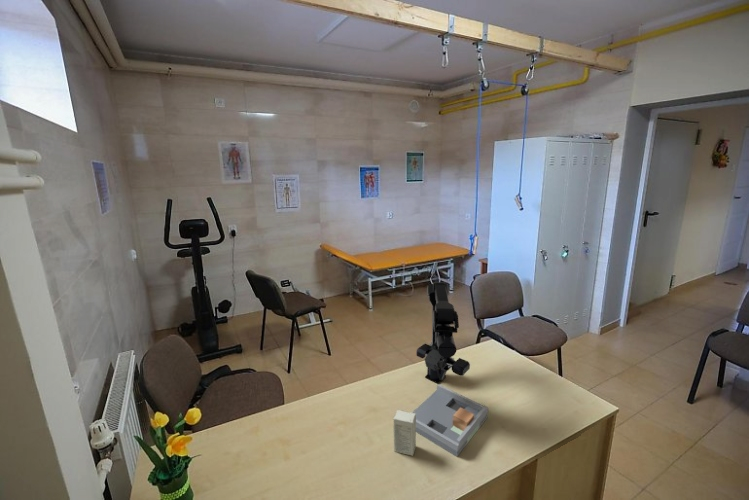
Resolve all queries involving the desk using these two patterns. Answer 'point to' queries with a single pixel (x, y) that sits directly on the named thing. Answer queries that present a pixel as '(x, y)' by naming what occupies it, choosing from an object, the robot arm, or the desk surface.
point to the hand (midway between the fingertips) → (441, 379)
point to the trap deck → (448, 419)
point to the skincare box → (404, 432)
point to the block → (462, 419)
